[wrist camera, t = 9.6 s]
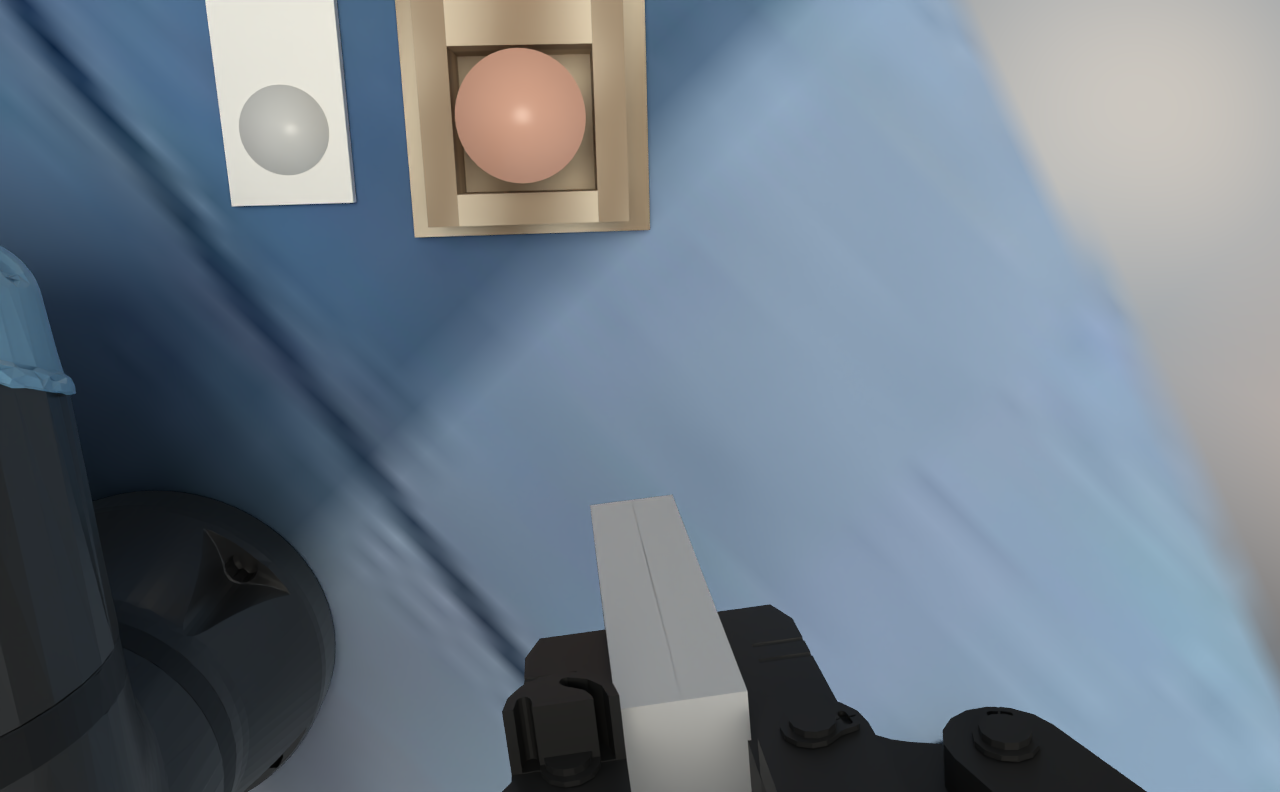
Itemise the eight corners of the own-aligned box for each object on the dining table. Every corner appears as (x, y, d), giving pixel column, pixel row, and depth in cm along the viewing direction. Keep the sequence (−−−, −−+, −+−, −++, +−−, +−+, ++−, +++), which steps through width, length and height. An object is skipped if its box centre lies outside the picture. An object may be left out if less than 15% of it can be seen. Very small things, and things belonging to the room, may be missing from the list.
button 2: (469, 183, 37) (459, 185, 33) (460, 60, 36) (449, 48, 32) (586, 180, 37) (588, 181, 34) (581, 57, 36) (583, 46, 33)
